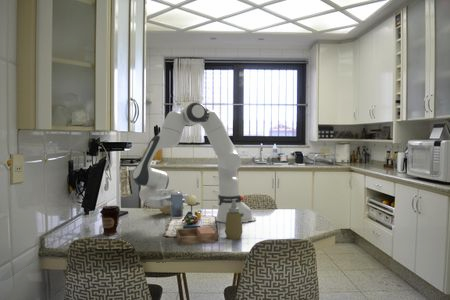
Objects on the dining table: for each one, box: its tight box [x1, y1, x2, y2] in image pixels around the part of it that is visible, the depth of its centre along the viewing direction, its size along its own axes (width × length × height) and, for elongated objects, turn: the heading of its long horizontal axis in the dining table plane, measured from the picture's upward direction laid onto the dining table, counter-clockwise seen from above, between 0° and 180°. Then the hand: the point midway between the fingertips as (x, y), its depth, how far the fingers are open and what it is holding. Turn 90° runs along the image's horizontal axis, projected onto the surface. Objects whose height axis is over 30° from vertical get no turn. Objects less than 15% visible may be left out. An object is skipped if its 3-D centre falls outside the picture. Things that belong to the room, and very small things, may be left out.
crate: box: [175, 226, 219, 245], centre depth 140 cm, size 17×13×4 cm
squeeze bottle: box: [224, 200, 243, 241], centre depth 141 cm, size 8×8×18 cm
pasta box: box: [196, 226, 216, 236], centre depth 141 cm, size 6×10×4 cm, turn 15°
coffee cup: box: [100, 205, 121, 236], centre depth 149 cm, size 9×8×13 cm
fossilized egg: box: [157, 188, 171, 215], centre depth 189 cm, size 13×13×15 cm
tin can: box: [170, 190, 184, 220], centre depth 142 cm, size 6×6×12 cm
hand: (178, 202), depth 142 cm, fingers closed on tin can, 5 cm apart
